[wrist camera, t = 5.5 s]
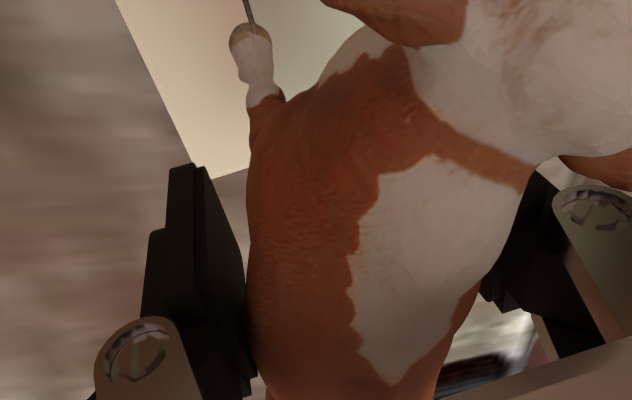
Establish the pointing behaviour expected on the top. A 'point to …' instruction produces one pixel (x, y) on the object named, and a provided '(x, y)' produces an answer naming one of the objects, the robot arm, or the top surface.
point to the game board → (228, 64)
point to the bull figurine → (413, 177)
